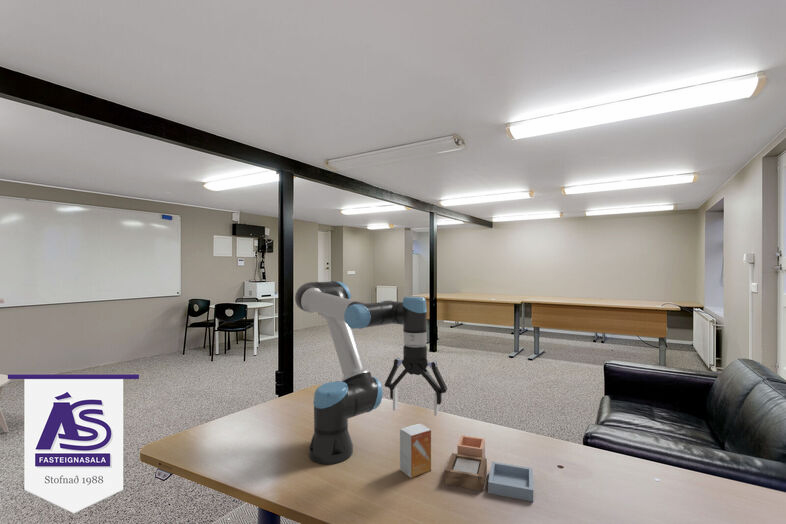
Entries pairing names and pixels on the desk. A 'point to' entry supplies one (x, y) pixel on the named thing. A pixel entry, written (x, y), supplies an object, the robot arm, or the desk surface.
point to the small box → (415, 450)
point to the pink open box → (471, 446)
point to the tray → (511, 481)
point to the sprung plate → (467, 466)
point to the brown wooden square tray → (466, 473)
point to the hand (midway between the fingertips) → (415, 411)
